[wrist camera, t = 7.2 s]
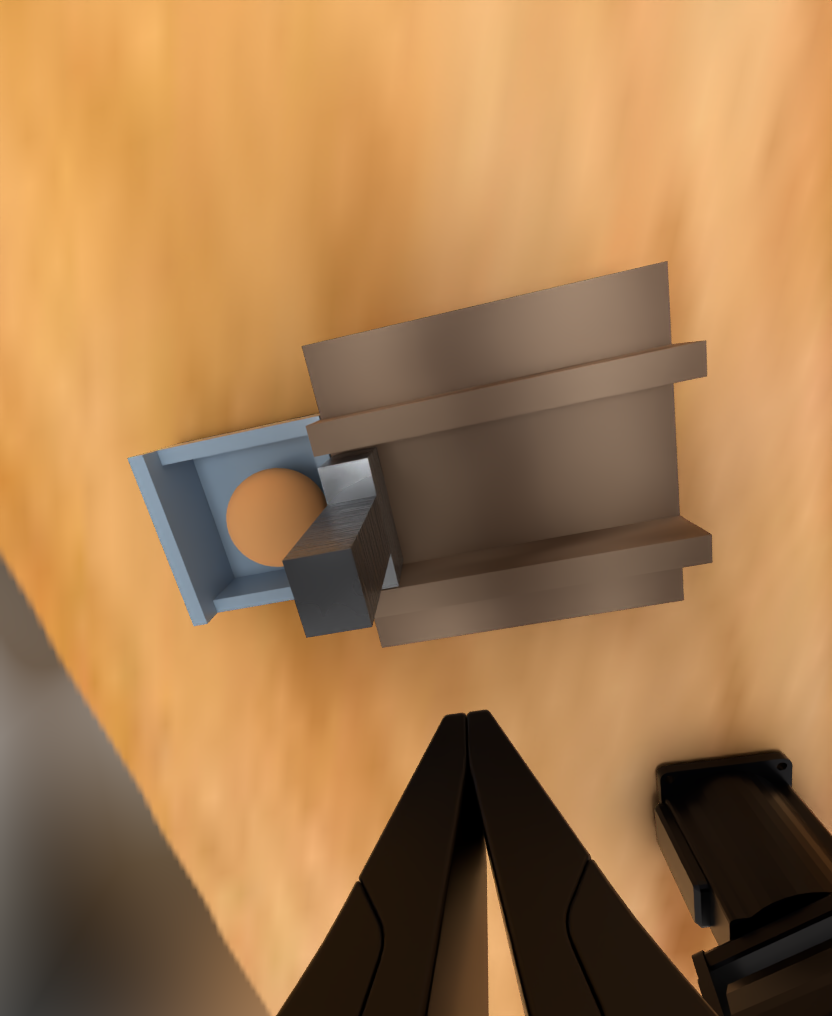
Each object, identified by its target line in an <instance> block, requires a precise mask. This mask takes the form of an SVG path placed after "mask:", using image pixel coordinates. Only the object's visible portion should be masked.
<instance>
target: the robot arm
mask: <svg viewBox="0 0 832 1016" xmlns="http://www.w3.org/2000/svg"><path fill="white" fill-rule="evenodd" d="M656 775H657V788H658V801H659V804H656V807H655V809H654V811H655V823H656V836H657V842H658V845H659V847H660V849H661V851H662V853H663V855H664V857H665V860H666V862H667V864H668V866H669V868H670V870H671V873H672V875H673V877H674V879H675V881H676V883H677V885H678V888H679V890H680V892H681V894H682V896H683V898H684V900H685V903H686V905H687V907H688V909H689V911H690V913H691V915H692V918H693V920H694V922H695V923H697V924H698V925H699V926H700V927H701V928H704V927H710V929H711V931H712V933H713V935H714V937H715V939H716V941H717V943H718V945H719V946H717V947H715V948H713V949H711V950H709V951H707V952H704V951H703V950H702V951H700V952H698V953H696V954H693V955H692V959H693V962H694V966H695V969H696V972H697V975H698V978H699V979H698V984H699V987H700V990H701V994H702V996H701V995H700V994H699V993H698V992H697V990H696V989H695V988H694V987H693V986H692V985H691V984H690V982H689V981H688V980H687V979H686V978H685V977H684V975H683V974H682V973H681V972H680V971H679V970H678V968H677V967H676V966H675V965H674V964H673V963H672V962H671V960H670V959H669V958H668V957H667V955H666V954H665V953H664V952H663V951H662V949H661V948H660V947H659V946H658V945H657V943H656V942H655V941H654V940H653V938H652V937H651V936H650V935H649V934H648V932H647V931H646V930H645V929H644V928H643V926H642V925H641V924H640V923H639V921H638V920H637V919H636V918H635V916H634V915H633V914H632V912H631V911H630V909H629V908H628V907H627V905H626V904H625V903H624V901H623V900H622V899H621V897H620V896H619V895H618V893H617V892H616V891H615V889H614V888H613V887H612V885H611V884H610V882H609V881H608V880H607V878H606V877H605V875H604V874H603V872H602V871H601V870H600V868H599V867H598V865H597V864H596V863H595V861H594V860H591V856H590V854H589V853H588V851H587V850H586V849H585V847H584V846H583V844H582V843H581V841H580V840H579V839H578V837H577V836H576V834H575V833H574V831H573V830H572V829H571V827H570V826H569V824H568V823H567V821H566V820H565V819H564V817H563V816H562V814H561V813H560V811H559V810H558V809H557V807H556V806H555V804H554V803H553V801H552V800H551V799H550V797H549V796H548V794H547V793H546V791H545V790H544V789H543V787H542V786H541V784H540V783H539V781H538V780H537V779H536V777H535V776H534V774H533V773H532V771H531V770H530V769H529V767H528V766H527V764H526V763H525V761H524V760H523V759H522V757H521V756H520V754H519V753H518V751H517V750H516V749H515V747H514V746H513V744H512V743H511V741H510V740H509V739H508V737H507V736H506V734H505V733H504V731H503V730H502V728H501V727H500V726H499V724H498V723H497V721H496V720H495V718H494V717H493V716H492V714H491V713H490V712H489V711H488V710H479V711H472V712H469V713H468V714H467V715H466V714H465V713H457V714H449V715H446V716H444V718H443V719H442V721H441V723H440V725H439V727H438V729H437V731H436V733H435V734H434V736H433V738H432V740H431V742H430V744H429V746H428V748H427V749H426V751H425V753H424V755H423V757H422V759H421V761H420V763H419V765H418V766H417V768H416V770H415V772H414V774H413V776H412V778H411V780H410V782H409V783H408V785H407V787H406V789H405V791H404V793H403V795H402V797H401V799H400V800H399V802H398V804H397V806H396V808H395V810H394V812H393V814H392V816H391V817H390V819H389V821H388V823H387V825H386V827H385V829H384V831H383V833H382V834H381V836H380V838H379V840H378V842H377V844H376V846H375V848H374V850H373V851H372V853H371V855H370V857H369V859H368V861H367V863H366V865H365V866H364V868H363V870H362V872H361V874H360V876H359V881H360V882H359V881H357V882H356V883H355V885H354V887H353V889H352V891H351V892H350V894H349V896H348V898H347V900H346V902H345V904H344V906H343V907H342V909H341V911H340V913H339V915H338V916H337V918H336V920H335V922H334V923H333V925H332V927H331V929H330V931H329V932H328V934H327V936H326V938H325V939H324V941H323V943H322V945H321V946H320V948H319V949H318V951H317V953H316V954H315V956H314V957H313V959H312V961H311V962H310V964H309V965H308V967H307V969H306V970H305V972H304V973H303V975H302V977H301V978H300V980H299V981H298V983H297V985H296V986H295V988H294V989H293V991H292V992H291V994H290V995H289V997H288V998H287V1000H286V1001H285V1003H284V1005H283V1006H282V1008H281V1009H280V1011H279V1012H278V1014H277V1015H276V1016H489V1013H488V933H487V861H486V847H487V852H488V856H489V861H490V865H491V870H492V874H493V878H494V883H495V887H496V891H497V896H498V900H499V904H500V909H501V913H502V918H503V922H504V926H505V931H506V935H507V939H508V944H509V948H510V952H511V957H512V961H513V966H514V970H515V974H516V979H517V983H518V987H519V992H520V996H521V1000H522V1005H523V1009H524V1013H525V1016H832V835H831V834H830V832H829V831H828V830H827V829H826V828H825V827H824V825H823V824H822V823H821V822H820V821H819V819H818V818H817V817H816V816H815V815H814V814H813V812H812V811H811V810H810V809H809V808H808V806H807V805H806V804H805V803H804V802H803V801H802V799H801V798H800V797H799V796H798V795H797V793H796V792H795V791H794V790H793V789H792V762H791V761H790V760H789V759H788V758H787V757H786V756H785V755H784V754H783V753H781V752H775V753H767V754H758V755H750V756H742V757H734V758H725V759H717V760H709V761H701V762H693V763H684V764H676V765H668V766H663V767H661V768H659V769H658V771H657V774H656ZM485 842H486V843H485Z"/></svg>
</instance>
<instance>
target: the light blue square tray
mask: <svg viewBox="0 0 832 1016" xmlns="http://www.w3.org/2000/svg"><path fill="white" fill-rule="evenodd" d="M318 420H321V417H320V413H318V414H313V415H308V416H304V417H299V418H294V419H290V420H285V421H281V422H276V423H271V424H267V425H262V426H257V427H253V428H248V429H243V430H239V431H234V432H230V433H225V434H220V435H216V436H211V437H206V438H202V439H197V440H193V441H188V442H183V443H179V444H175V445H172V446H168V447H165V448H161V449H158V450H154V451H151V452H147V453H143V454H140V455H136V456H133V457H129V458H128V461H129V463H130V466H131V468H132V471H133V474H134V476H135V479H136V481H137V484H138V486H139V489H140V491H141V494H142V496H143V499H144V501H145V504H146V506H147V509H148V511H149V514H150V517H151V519H152V522H153V524H154V527H155V529H156V532H157V534H158V537H159V539H160V542H161V544H162V547H163V549H164V552H165V554H166V557H167V560H168V562H169V565H170V567H171V570H172V572H173V575H174V577H175V580H176V582H177V585H178V587H179V590H180V592H181V595H182V597H183V600H184V603H185V605H186V608H187V610H188V613H189V615H190V618H191V620H192V623H193V625H194V626H197V625H203V624H208V622H209V621H210V620H211V619H212V618H213V617H214V616H215V615H216V614H217V613H218V612H224V611H230V610H236V609H241V608H247V607H253V606H259V605H265V604H270V603H276V602H282V601H288V600H294V597H293V594H292V591H291V587H290V584H289V581H288V578H287V575H286V572H285V569H284V566H283V567H271V566H265V565H262V564H259V563H256V562H254V561H252V560H251V559H249V558H248V557H246V556H245V555H243V554H242V553H241V552H240V551H239V550H238V548H237V547H236V546H235V545H234V543H233V541H232V540H231V537H230V535H229V532H228V528H227V522H226V513H227V507H228V503H229V501H230V498H231V496H232V494H233V492H234V491H235V489H236V488H237V487H238V486H239V485H240V484H241V483H242V482H243V481H244V480H245V479H246V478H248V477H249V476H251V475H252V474H254V473H257V472H259V471H262V470H266V469H270V468H286V469H291V470H295V471H297V472H300V473H302V474H304V475H305V476H307V477H309V478H310V479H311V480H312V481H314V482H315V483H316V484H317V485H318V487H319V488H320V489H321V491H322V492H323V494H324V496H325V493H324V490H323V486H322V483H321V479H320V475H319V472H318V468H319V467H320V466H321V465H322V464H324V463H325V462H326V461H327V460H328V459H330V458H331V454H326V455H322V456H317V457H314V455H313V451H312V448H311V444H310V441H309V437H308V433H307V430H306V426H307V425H309V424H311V423H314V422H316V421H318ZM325 499H326V497H325ZM326 502H327V501H326ZM327 505H328V504H327Z"/></svg>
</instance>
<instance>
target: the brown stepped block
mask: <svg viewBox="0 0 832 1016" xmlns="http://www.w3.org/2000/svg"><path fill="white" fill-rule="evenodd" d="M302 349H303V353H304V357H305V360H306V364H307V368H308V372H309V375H310V379H311V383H312V387H313V390H314V394H315V398H316V402H317V406H318V409H319V413H320V417H321V420H318V421H316V422H314V423H311V424H309V425H307V426H306V430H307V433H308V437H309V441H310V444H311V448H312V451H313V455H314V457H317V456H322V455H326V454H331V457H332V456H333V455H338V454H343V453H348V452H353V451H358V450H363V449H367V448H372V447H377V450H378V454H379V458H380V462H381V467H382V471H383V475H384V479H385V484H386V488H387V492H388V496H389V500H390V505H391V509H392V513H393V517H394V522H395V526H396V530H397V534H398V539H399V543H400V547H401V551H402V556H403V565H402V571H401V577H400V582H399V586H398V587H392V588H386V589H382V590H381V594H380V598H379V602H378V605H377V609H376V613H375V617H374V619H375V623H376V627H377V631H378V634H379V638H380V642H381V646H382V648H384V647H390V646H396V645H403V644H409V643H416V642H422V641H428V640H435V639H441V638H447V637H454V636H460V635H466V634H473V633H479V632H485V631H492V630H498V629H504V628H511V627H517V626H523V625H530V624H536V623H542V622H549V621H555V620H561V619H568V618H574V617H580V616H587V615H593V614H599V613H606V612H612V611H619V610H625V609H631V608H638V607H644V606H650V605H657V604H663V603H669V602H676V601H682V600H684V593H683V572H682V568H683V567H689V566H695V565H701V564H707V563H712V534H710V533H708V532H707V531H705V530H703V529H702V528H700V527H698V526H697V525H695V524H693V523H692V522H690V521H688V520H687V519H685V518H683V517H682V516H680V510H679V489H678V469H677V448H676V427H675V407H674V386H673V383H676V382H681V381H686V380H691V379H696V378H701V377H706V376H707V353H706V341H696V342H687V343H678V344H671V324H670V303H669V283H668V262H667V261H666V262H661V263H657V264H653V265H648V266H644V267H640V268H635V269H631V270H627V271H623V272H618V273H614V274H610V275H605V276H601V277H597V278H593V279H588V280H584V281H580V282H575V283H571V284H567V285H562V286H558V287H554V288H550V289H545V290H541V291H537V292H532V293H528V294H524V295H520V296H515V297H511V298H507V299H502V300H498V301H494V302H489V303H485V304H481V305H477V306H472V307H468V308H464V309H459V310H455V311H451V312H447V313H442V314H438V315H434V316H429V317H425V318H421V319H417V320H412V321H408V322H404V323H399V324H395V325H391V326H386V327H382V328H378V329H374V330H369V331H365V332H361V333H356V334H352V335H348V336H344V337H339V338H335V339H331V340H326V341H322V342H318V343H313V344H309V345H305V346H302Z"/></svg>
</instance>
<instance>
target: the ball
mask: <svg viewBox="0 0 832 1016" xmlns="http://www.w3.org/2000/svg"><path fill="white" fill-rule="evenodd" d="M326 506H327V502H326V499H325V496H324V494H323V492H322V491H321V489H320V488H319V487H318V485H317V484H316V483H315V482H314V481H312V480H311V479H310V478H309V477H307V476H305V475H304V474H302V473H300V472H297V471H295V470H291V469H286V468H270V469H266V470H262V471H259V472H257V473H254V474H252V475H251V476H249V477H248V478H246V479H245V480H244V481H243V482H242V483H241V484H240V485H239V486H238V487H237V488H236V489H235V491H234V492H233V494H232V496H231V498H230V501H229V503H228V507H227V513H226V522H227V528H228V532H229V535H230V537H231V540H232V541H233V543H234V545H235V546H236V547H237V548H238V550H239V551H240V552H241V553H242V554H243V555H245V556H246V557H248V558H249V559H251V560H252V561H254V562H256V563H259V564H262V565H265V566H271V567H283V566H284V565H283V562H282V560H283V559H284V558H285V557H286V555H287V554H288V553H289V552H290V550H291V549H292V548H293V547H294V546H295V544H296V543H297V542H298V541H299V539H300V538H301V537H302V536H303V534H304V533H305V532H306V531H307V530H308V528H309V527H310V526H311V525H312V523H313V522H314V521H315V520H316V519H317V517H318V516H319V515H320V514H321V512H322V511H323V510H324V509H325V507H326Z"/></svg>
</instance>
